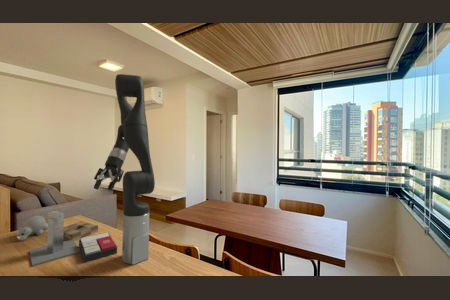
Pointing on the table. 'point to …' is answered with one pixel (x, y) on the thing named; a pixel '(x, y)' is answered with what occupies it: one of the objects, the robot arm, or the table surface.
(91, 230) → the block
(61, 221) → the t key
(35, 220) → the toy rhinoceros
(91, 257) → the calculator
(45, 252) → the mat
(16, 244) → the table surface
